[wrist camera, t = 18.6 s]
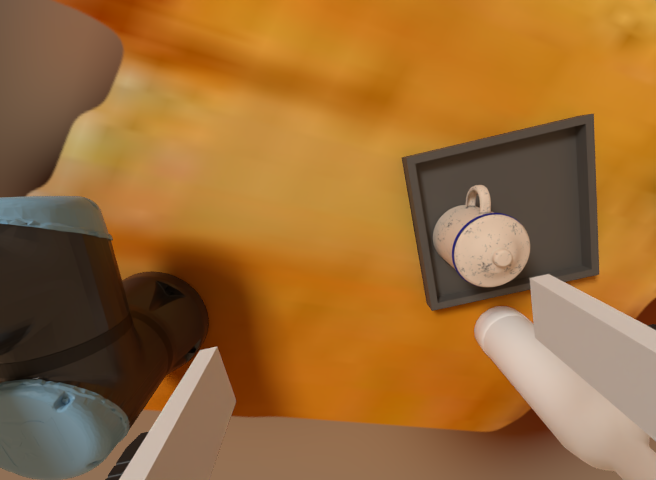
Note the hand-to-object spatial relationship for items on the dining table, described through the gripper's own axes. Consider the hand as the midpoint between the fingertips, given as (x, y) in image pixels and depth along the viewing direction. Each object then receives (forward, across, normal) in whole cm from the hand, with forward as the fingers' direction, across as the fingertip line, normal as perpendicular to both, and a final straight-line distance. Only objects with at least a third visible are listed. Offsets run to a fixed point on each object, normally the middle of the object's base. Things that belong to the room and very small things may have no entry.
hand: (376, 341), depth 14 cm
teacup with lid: (+34, -17, +6) cm, 39 cm away
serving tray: (+35, -22, +6) cm, 42 cm away
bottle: (+35, -20, +24) cm, 47 cm away
